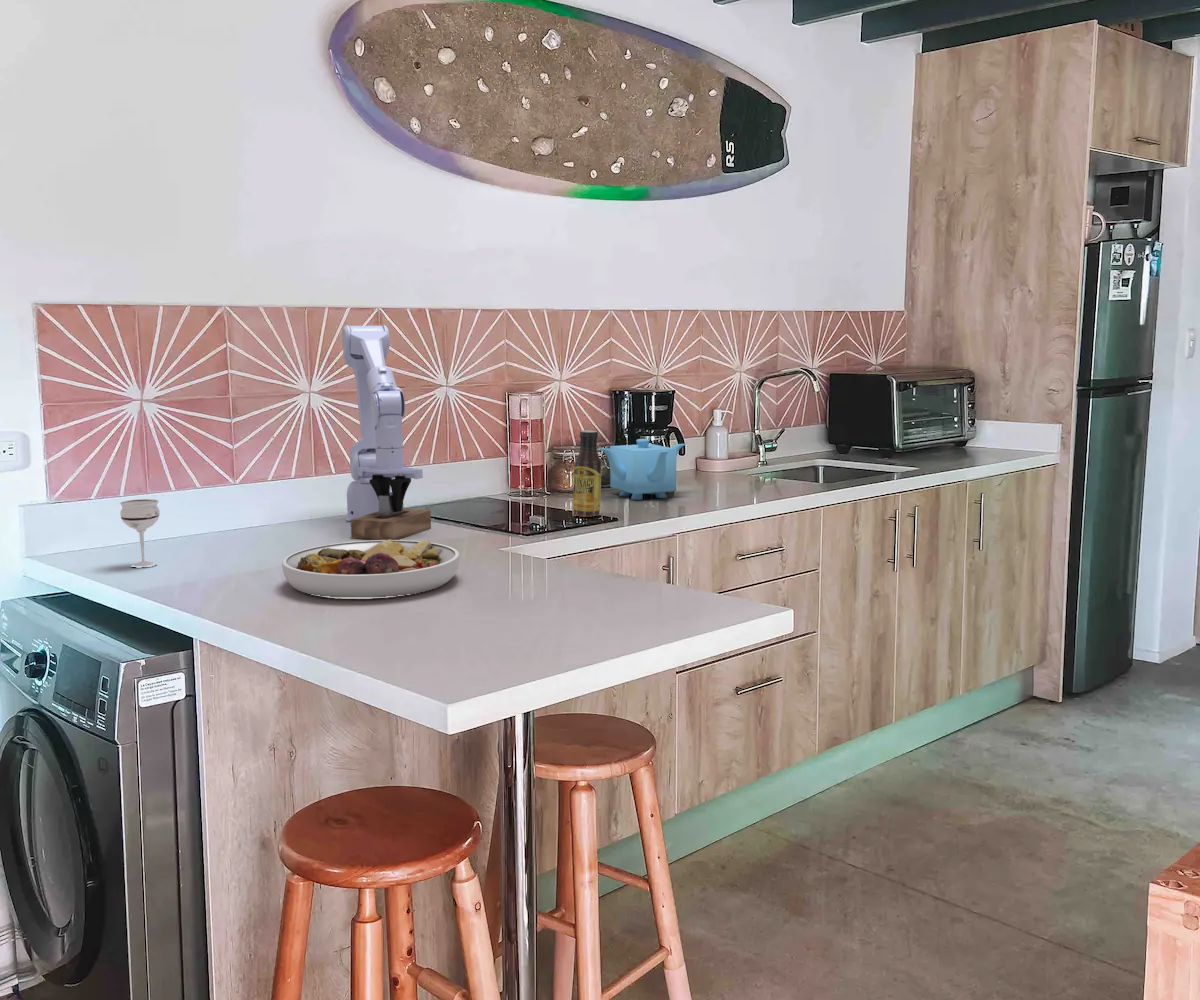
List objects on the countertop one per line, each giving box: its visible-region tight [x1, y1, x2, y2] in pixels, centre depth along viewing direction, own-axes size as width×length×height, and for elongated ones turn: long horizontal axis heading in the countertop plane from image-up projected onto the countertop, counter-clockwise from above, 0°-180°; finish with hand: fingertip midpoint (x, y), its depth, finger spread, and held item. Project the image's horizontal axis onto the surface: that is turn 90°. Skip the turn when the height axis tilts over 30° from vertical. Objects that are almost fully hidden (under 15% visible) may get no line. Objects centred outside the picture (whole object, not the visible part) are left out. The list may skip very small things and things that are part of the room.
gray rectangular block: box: [378, 491, 404, 519], centre depth 245 cm, size 2×6×8 cm, turn 160°
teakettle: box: [598, 438, 687, 501], centre depth 295 cm, size 19×19×15 cm
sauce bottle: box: [572, 429, 602, 518], centre depth 264 cm, size 7×6×20 cm
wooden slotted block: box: [350, 508, 432, 541], centre depth 246 cm, size 10×16×4 cm, turn 160°
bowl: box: [281, 539, 460, 597], centre depth 200 cm, size 30×30×8 cm
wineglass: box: [119, 498, 161, 566], centre depth 214 cm, size 7×7×12 cm
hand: (391, 511), depth 245 cm, fingers closed on gray rectangular block, 2 cm apart
